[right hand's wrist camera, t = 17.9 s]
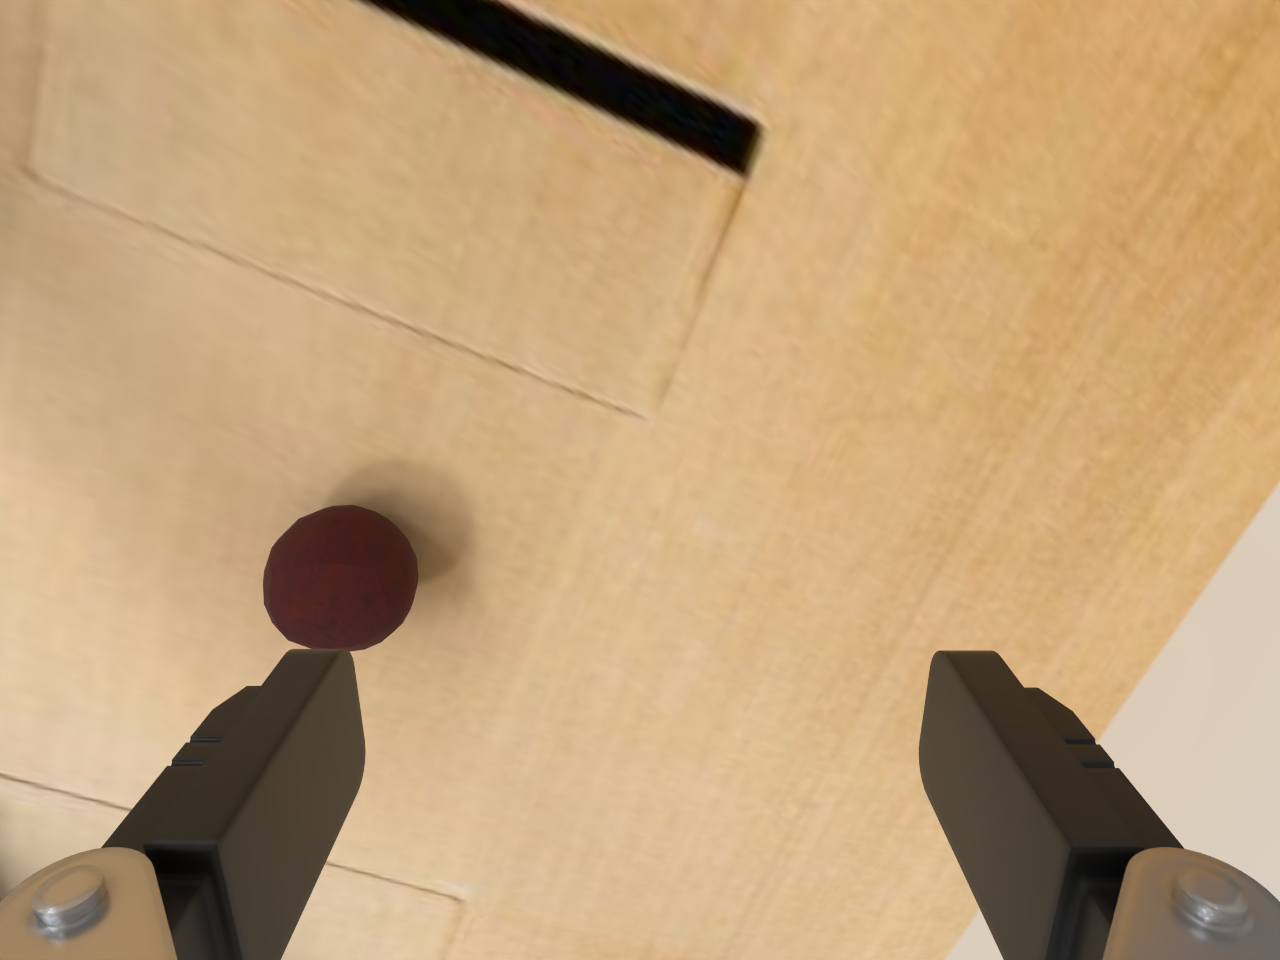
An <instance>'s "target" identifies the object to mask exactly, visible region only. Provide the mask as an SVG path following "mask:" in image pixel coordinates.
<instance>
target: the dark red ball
mask: <svg viewBox="0 0 1280 960" xmlns="http://www.w3.org/2000/svg"><path fill="white" fill-rule="evenodd" d="M417 583H418V568H417V559H416V556H415V554H414V552H413V549H412V547H411V545H410V543H409V541H408V540H407V538H406V537H405V536H404V535H403V533H402V532H401V531H400V530H399V529H398V528H397V527H396V526H395V525H394V524H393V523H392V522H391V521H389V520H388V519H386V518H385V517H383V516H381V515H380V514H378V513H376V512H374V511H371V510H368V509H365V508H361V507H358V506H355V505H344V506H331V507H328V508H324V509H322V510H319V511H317V512H314V513H312V514H310V515H307V516H305V517H302V518H300V519H298V520H297V521H296V522H295V523H294V524H293V525H292V526H291V527H290V528H289V529H288V530H287V531H286V532H285V533H284V534H283V535H282V536H281V537H280V538H279V539H278V540H277V542H276V543H275V544H274V546H273V547H272V548H271V551H270V555H269V558H268V561H267V564H266V567H265V570H264V579H263V592H264V605H265V607H266V609H267V612H268V614H269V616H270V619H271V621H272V623H273V624H274V625H275V626H276V628H277V629H278V630H279V631H280V632H281V633H282V634H283V635H284V636H285V637H286V638H287V639H288V640H289V641H292V642H294V643H297V644H300V645H303V646H306V647H308V648H311V649H346V650H348V651H356V650H363V649H367V648H369V647H371V646H373V645H376V644H378V643H380V642H382V641H383V640H384V639H385V638H387V637H388V636H389V635H390V634H391V633H393V632H394V631H395V630H396V629H397V628H398V627H399V626H400V625H401V624H402V623H403V622H404V620H405V618H406V616H407V614H408V613H409V611H410V609H411V606H412V603H413V600H414V596H415V592H416V587H417Z"/></svg>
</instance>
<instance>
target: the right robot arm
mask: <svg viewBox="0 0 1280 960" xmlns="http://www.w3.org/2000/svg"><path fill="white" fill-rule="evenodd" d="M364 765H365V739H364V732H363V725H362V718H361V710H360V703H359V696H358V689H357V682H356V675H355V667H354V662H353V658H352V656H351V654H350V652H349V651H348V650H346V649H292V650H289V651H288V652H287V653H286V654H285V655H284V656H283V657H282V659H281V660H280V661H279V663H278V664H277V665H276V667H275V668H274V670H273V671H272V672H271V674H270V675H269V676H268V678H267V679H266V680H265V682H264V683H263V684H262V686H246V687H245V688H244V689H242V690H241V691H239V692H238V693H236V694H235V695H233V696H232V697H230V698H229V699H227V700H226V701H224V702H223V703H222V704H220V705H219V706H217V707H216V708H214V709H213V710H212V711H211V712H210V714H209V715H208V716H207V717H206V718H205V720H204V721H203V722H202V723H201V725H200V726H199V727H198V728H197V730H196V731H195V732H194V733H193V735H192V736H191V740H190V743H185V745H184V746H183V747H182V748H181V749H180V751H179V752H178V753H177V754H176V756H175V757H174V758H173V759H172V765H171V766H167V767H166V768H165V769H164V771H163V772H162V773H161V774H160V776H159V777H158V778H157V779H156V780H155V782H154V783H153V784H152V785H151V787H150V788H149V789H148V790H147V792H146V793H145V794H144V795H143V797H142V798H141V799H140V800H139V802H138V803H137V804H136V805H135V807H134V808H133V809H132V810H131V811H130V813H129V814H128V815H127V816H126V818H125V819H124V820H123V821H122V823H121V824H120V825H119V826H118V828H117V829H116V830H115V831H114V833H113V834H112V835H111V836H110V838H109V839H108V840H107V841H106V843H105V844H104V845H103V846H102V847H101V848H100V849H93V850H89V851H85V852H81V853H78V854H75V855H72V856H69V857H67V858H64V859H62V860H60V861H57V862H55V863H53V864H51V865H49V866H47V867H45V868H44V869H42V870H40V871H38V872H37V873H35V874H33V875H32V876H30V877H29V878H27V879H26V880H24V881H23V882H22V883H21V884H19V885H18V886H17V887H15V888H14V889H13V890H12V891H11V892H10V893H9V894H8V895H7V896H6V897H5V898H4V899H3V900H2V901H1V902H0V960H281V958H282V956H283V953H284V951H285V949H286V947H287V945H288V943H289V940H290V938H291V936H292V934H293V932H294V930H295V927H296V925H297V923H298V921H299V919H300V916H301V914H302V912H303V910H304V908H305V906H306V903H307V901H308V899H309V897H310V895H311V893H312V890H313V888H314V886H315V884H316V882H317V880H318V877H319V875H320V873H321V871H322V869H323V867H324V864H325V862H326V860H327V858H328V856H329V854H330V851H331V849H332V847H333V845H334V843H335V841H336V838H337V836H338V834H339V832H340V830H341V827H342V825H343V823H344V821H345V819H346V817H347V814H348V812H349V810H350V808H351V806H352V804H353V801H354V799H355V797H356V795H357V793H358V790H359V788H360V784H361V781H362V777H363V772H364ZM919 765H920V772H921V777H922V782H923V785H924V789H925V791H926V794H927V796H928V798H929V800H930V802H931V805H932V807H933V809H934V811H935V813H936V815H937V817H938V820H939V822H940V824H941V826H942V828H943V830H944V832H945V835H946V837H947V839H948V841H949V843H950V845H951V847H952V850H953V852H954V854H955V856H956V858H957V860H958V863H959V865H960V867H961V869H962V871H963V873H964V875H965V878H966V880H967V882H968V884H969V886H970V888H971V890H972V893H973V895H974V897H975V899H976V901H977V903H978V905H979V908H980V910H981V912H982V914H983V916H984V918H985V920H986V923H987V925H988V927H989V929H990V931H991V933H992V935H993V938H994V940H995V942H996V944H997V946H998V948H999V950H1000V952H1001V955H1002V957H1003V959H1004V960H1280V902H1279V901H1278V900H1277V899H1276V898H1275V897H1274V896H1273V895H1272V894H1271V893H1270V892H1269V891H1268V890H1267V889H1266V888H1264V887H1263V886H1262V885H1261V884H1259V883H1258V882H1257V881H1256V880H1254V879H1253V878H1251V877H1250V876H1248V875H1247V874H1245V873H1243V872H1242V871H1240V870H1238V869H1236V868H1235V867H1233V866H1231V865H1229V864H1227V863H1225V862H1223V861H1220V860H1218V859H1216V858H1213V857H1211V856H1208V855H1205V854H1202V853H1198V852H1195V851H1191V850H1187V849H1184V848H1183V846H1182V845H1181V844H1180V843H1179V841H1178V840H1177V839H1176V838H1175V837H1174V835H1173V834H1172V833H1171V832H1170V830H1169V829H1168V828H1167V827H1166V826H1165V824H1164V823H1163V822H1162V821H1161V819H1160V818H1159V817H1158V816H1157V814H1156V813H1155V812H1154V811H1153V810H1152V808H1151V807H1150V806H1149V805H1148V803H1147V802H1146V801H1145V800H1144V798H1143V797H1142V796H1141V795H1140V794H1139V792H1138V791H1137V790H1136V789H1135V787H1134V786H1133V785H1132V784H1131V783H1130V781H1129V780H1128V779H1127V778H1126V776H1125V775H1124V774H1123V773H1122V771H1121V770H1120V769H1119V768H1115V767H1114V762H1113V760H1112V759H1111V758H1110V757H1109V755H1108V754H1107V753H1106V752H1105V750H1104V749H1103V748H1102V747H1101V746H1100V745H1096V743H1095V738H1094V737H1093V736H1092V735H1091V733H1090V732H1089V731H1088V730H1087V728H1086V727H1085V726H1084V725H1083V723H1082V722H1081V721H1080V720H1079V719H1078V717H1077V716H1076V715H1075V714H1074V712H1073V711H1071V710H1070V709H1068V708H1067V707H1066V706H1064V705H1063V704H1061V703H1060V702H1058V701H1057V700H1055V699H1054V698H1052V697H1051V696H1049V695H1048V694H1046V693H1045V692H1043V691H1042V690H1041V689H1039V688H1024V687H1023V686H1022V684H1021V683H1020V682H1019V680H1018V679H1017V678H1016V676H1015V675H1014V674H1013V672H1012V671H1011V670H1010V668H1009V667H1008V666H1007V664H1006V663H1005V662H1004V660H1003V659H1002V658H1001V657H1000V655H999V654H998V653H996V652H995V651H937V652H936V653H935V654H934V656H933V658H932V661H931V665H930V672H929V679H928V686H927V693H926V700H925V707H924V714H923V721H922V728H921V735H920V742H919Z"/></svg>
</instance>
